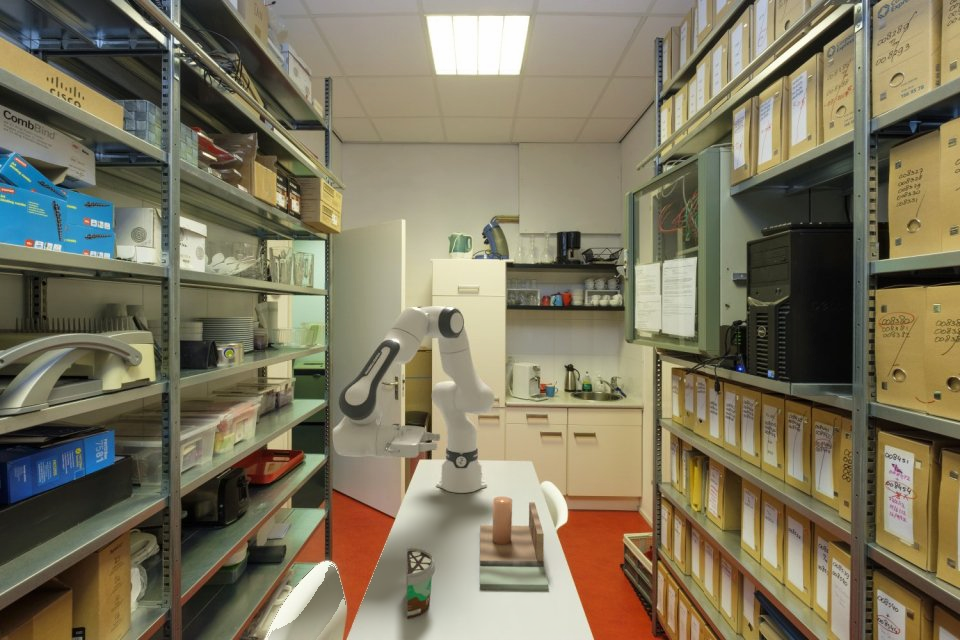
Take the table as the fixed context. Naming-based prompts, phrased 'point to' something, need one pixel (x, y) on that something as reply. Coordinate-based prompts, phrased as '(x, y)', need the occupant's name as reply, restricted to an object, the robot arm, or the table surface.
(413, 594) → the food container
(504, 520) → the peach cylinder
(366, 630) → the table surface
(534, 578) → the brown wooden l-shaped board
